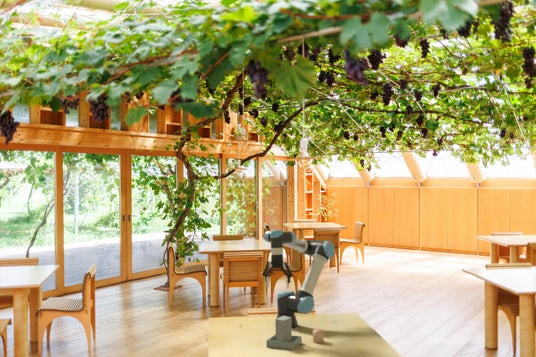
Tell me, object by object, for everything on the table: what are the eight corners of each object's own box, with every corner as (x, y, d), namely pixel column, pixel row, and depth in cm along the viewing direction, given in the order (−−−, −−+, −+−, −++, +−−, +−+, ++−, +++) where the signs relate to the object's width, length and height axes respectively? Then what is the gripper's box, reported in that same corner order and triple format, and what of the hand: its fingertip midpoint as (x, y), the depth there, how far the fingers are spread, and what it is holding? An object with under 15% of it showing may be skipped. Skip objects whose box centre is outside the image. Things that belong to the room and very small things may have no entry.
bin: (266, 347, 298) (266, 340, 298) (276, 340, 311) (276, 333, 311) (292, 350, 291) (292, 343, 291) (301, 342, 304) (301, 336, 304)
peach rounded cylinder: (311, 342, 304) (311, 331, 305) (315, 339, 310) (314, 328, 310) (321, 343, 302) (321, 332, 302) (325, 340, 308) (324, 329, 308)
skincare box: (283, 341, 306) (282, 315, 307) (292, 343, 302) (292, 316, 302) (274, 345, 300) (274, 318, 300) (284, 347, 295) (283, 319, 296)
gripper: (297, 253, 319) (298, 287, 319) (261, 252, 330) (262, 285, 329) (293, 255, 313) (294, 289, 312) (256, 254, 323) (257, 287, 322)
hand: (277, 287), depth 320 cm, fingers open, 13 cm apart
